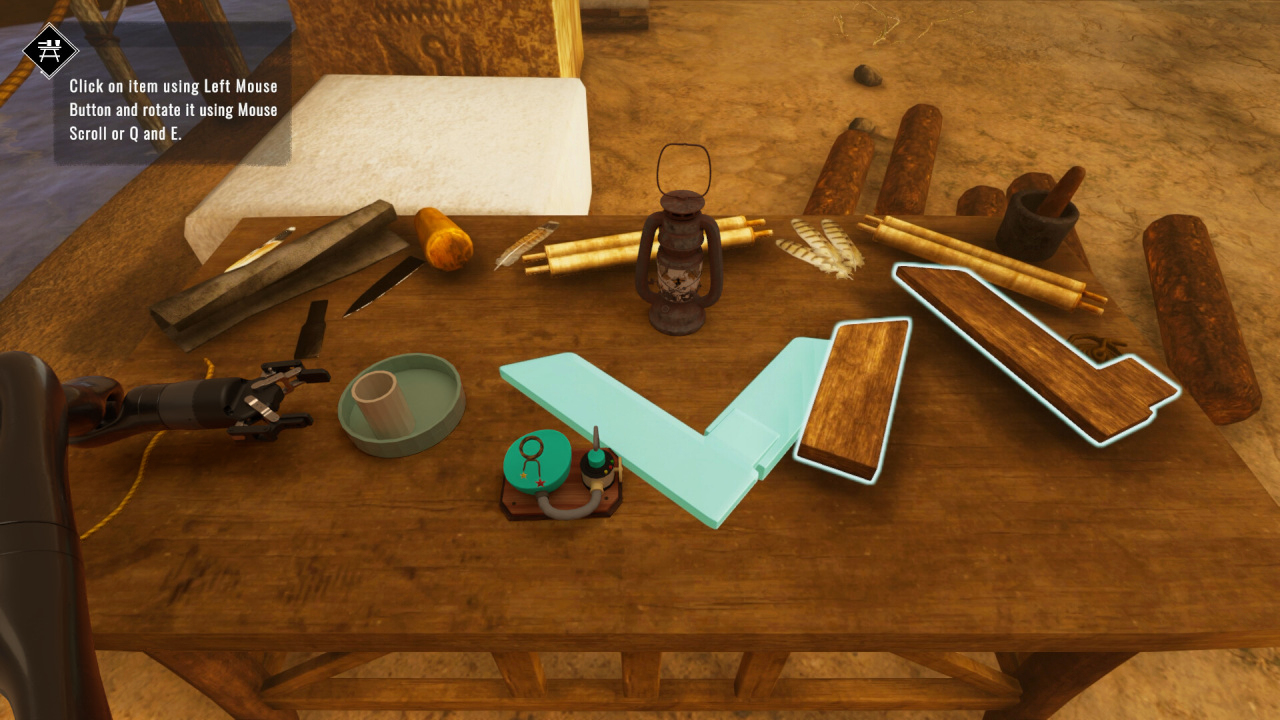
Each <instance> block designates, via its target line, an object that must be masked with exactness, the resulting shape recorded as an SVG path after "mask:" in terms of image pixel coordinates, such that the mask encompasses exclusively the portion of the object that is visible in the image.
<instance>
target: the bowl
mask: <svg viewBox="0 0 1280 720" xmlns="http://www.w3.org/2000/svg"><path fill="white" fill-rule="evenodd" d="M382 370H383V371H388V372H391V373H392V374H393V375H394V376H395V377H396V379H397V381H398V383H399V385H400V388H401V390H402V392H403V394H404V396H405V398H406V400H407V403H408V405H409V407H410V409H411V411H412V413H413V416H414V418H415V428H414V430H413V431H412V433H411V434H410V435H408V436H405V437H401V438H397V439H387V440H378V439H377V438H376V437H375V435H374V434H373V432H372V430H371V429H370V427H369V425H368V423H367V422H366V420H365V418H364V416H363V414H362V413H361V411H360V409H359V407H358V406H357V404H356V402H355V400H354V399H353V397H352V393H351V390H352V387H353V385H354V383H355V382H356V381H357V380H358V379H359V378H360V377H362V376H364V375H365V374H367V373H370V372H373V371H382ZM337 403H338V404H337V418H338V420H339V423H340V425H341V428H342V429H343V431H344V432H345V434H346V435H347V437H348V439H349V440H350V441H351V443H352V444H353V445H354V446H355V447H356V448H357V449H359V450H360V451H362V452H363V453H365V454H368V455H369V456H373V457H378V458H385V459H392V458H394V459H395V458H403V457H408V456H413V455H416V454H419V453H421V452H423V451H426V450H429V449H430V448H432V447H434V446H436V445H437V444H438V443H441V441H443V440H444V439H446V438H447V437H448V436H449V435H450V434H451V433H452V432H453V431H454V430H455V429H456V427H457V426H458V424H459V423H460V422H461V420H462V419H463V416H464V413H465V410H466V407H467V394H466V391H465V386H464V384H463V381H462V378H461V374H460V373H459V371H458V370H457V368H456V367H455V365H454V364H453V363H452V362H450V361H448V360H447V359H446V358H444V357H441V356H438V355H436V354H432V353H425V352H410V353H409V352H408V353H407V352H406V353H402V354H401V353H400V354H397V355H393V356H390V357H387V358H384V359H382V360H380V361H377V362H375V363H373V364H371V365H370V366H367V367H366V368H364V369H363V370H361V371H360V372H359V373H358V374H357V375H356V376H355V377H354V378H353V379H352V380H351V381H350V382H348V384H347V386H346V387H345V389H344V390H343V391H342V393H341V395H340V398H339V401H338V402H337Z"/></svg>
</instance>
